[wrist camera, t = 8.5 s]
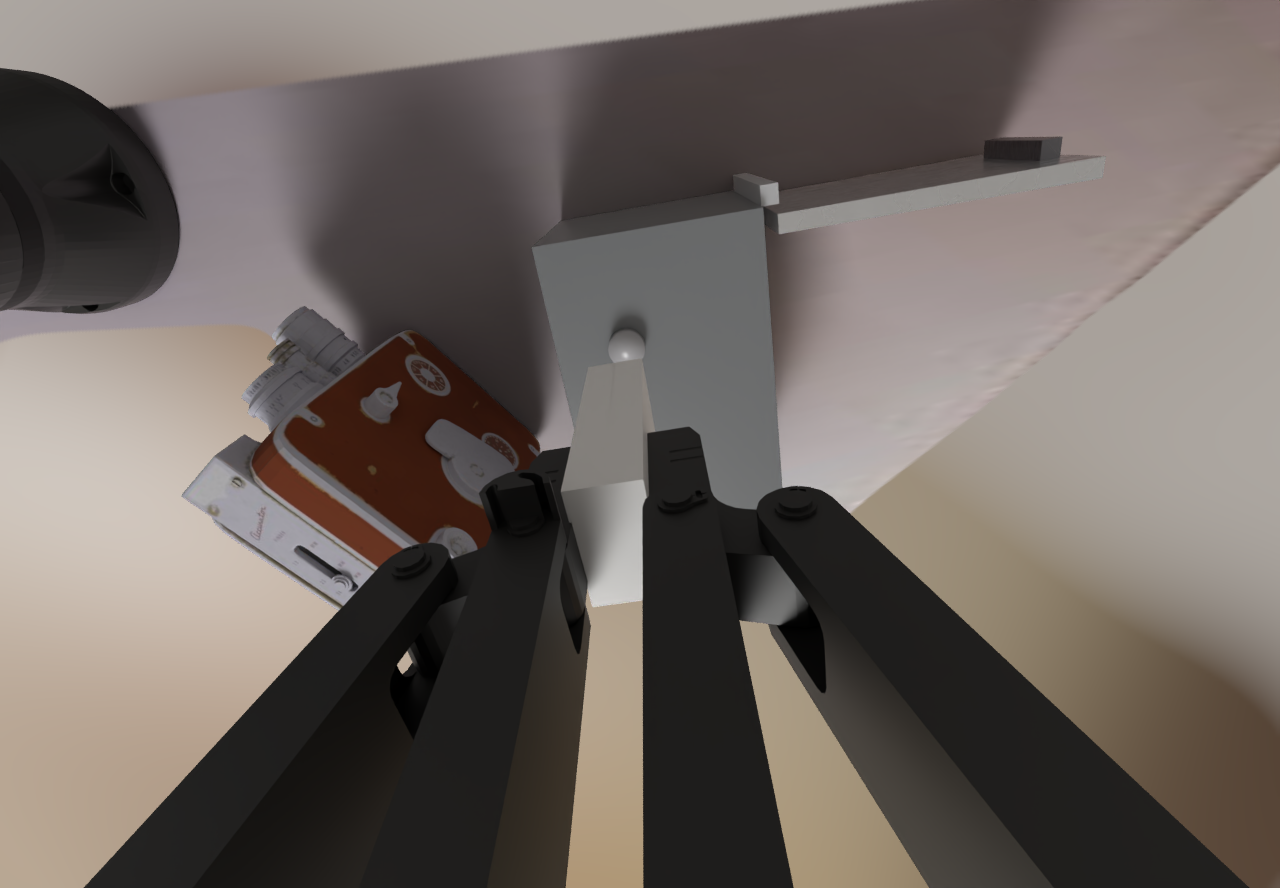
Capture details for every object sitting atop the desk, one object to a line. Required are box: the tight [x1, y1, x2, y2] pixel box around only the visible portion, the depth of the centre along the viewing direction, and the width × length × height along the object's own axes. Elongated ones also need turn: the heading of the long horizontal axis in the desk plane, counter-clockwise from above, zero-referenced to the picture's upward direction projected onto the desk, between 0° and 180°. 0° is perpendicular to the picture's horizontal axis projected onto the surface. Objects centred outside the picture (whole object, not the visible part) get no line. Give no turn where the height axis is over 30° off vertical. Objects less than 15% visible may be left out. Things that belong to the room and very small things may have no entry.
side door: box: [762, 137, 1106, 234], centre depth 35 cm, size 2×16×11 cm, turn 99°
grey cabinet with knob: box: [531, 173, 782, 509], centre depth 40 cm, size 13×24×13 cm, turn 9°
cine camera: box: [182, 306, 540, 611], centre depth 39 cm, size 9×19×20 cm, turn 43°
